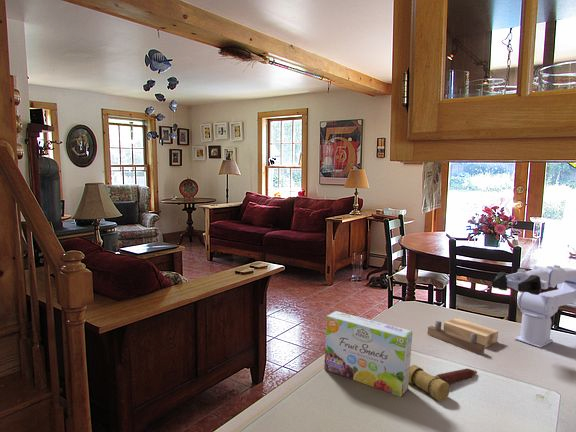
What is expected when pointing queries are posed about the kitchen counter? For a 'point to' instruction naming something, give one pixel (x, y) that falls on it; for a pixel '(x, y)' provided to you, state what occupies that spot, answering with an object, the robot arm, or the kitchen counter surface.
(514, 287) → the robot arm
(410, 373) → the gavel
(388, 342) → the snack box
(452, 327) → the wooden block
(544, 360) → the kitchen counter surface
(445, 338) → the bar
